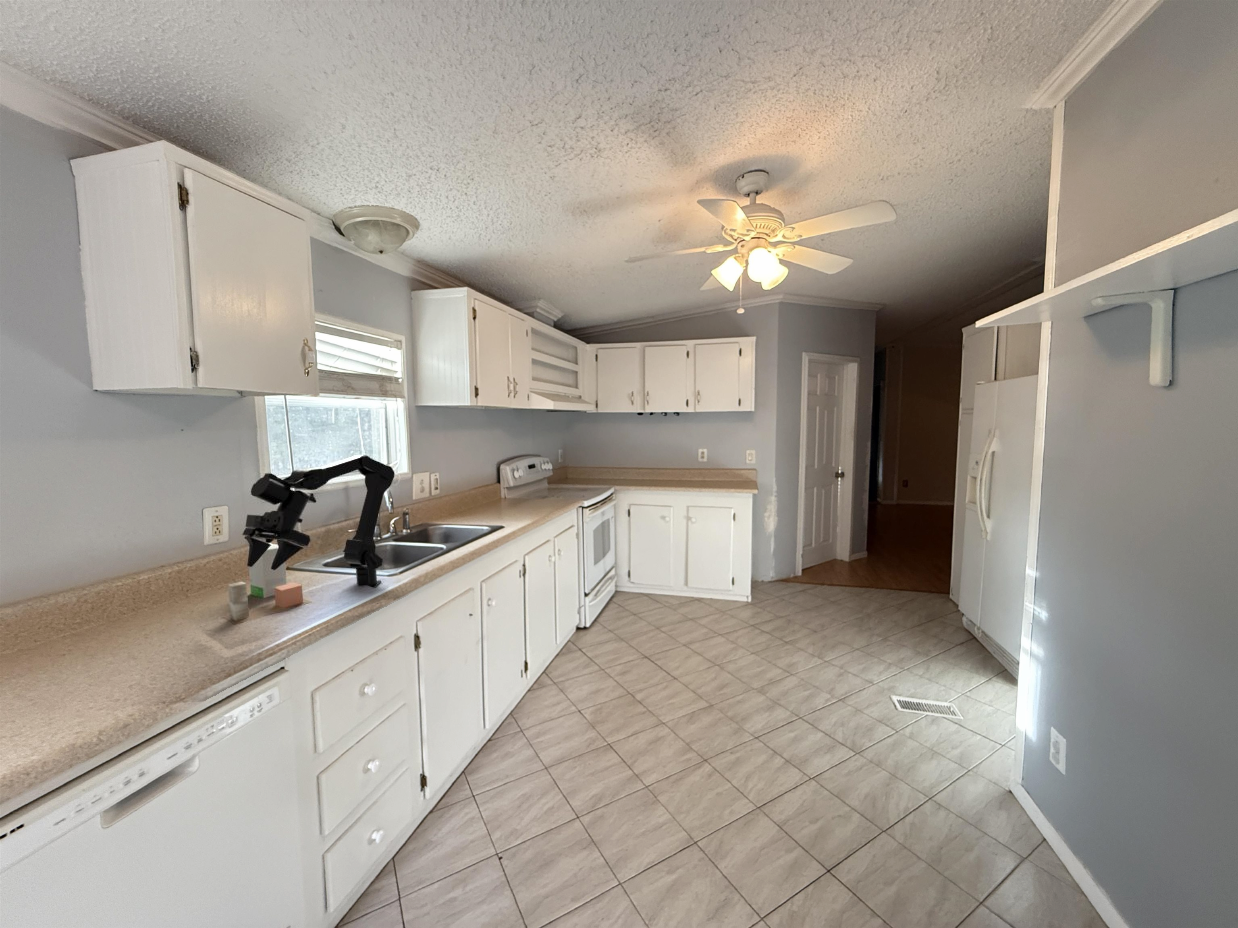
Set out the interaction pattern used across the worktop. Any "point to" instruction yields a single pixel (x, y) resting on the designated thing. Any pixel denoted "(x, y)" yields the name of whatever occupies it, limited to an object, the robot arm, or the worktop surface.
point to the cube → (288, 595)
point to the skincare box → (266, 574)
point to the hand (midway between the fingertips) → (260, 567)
